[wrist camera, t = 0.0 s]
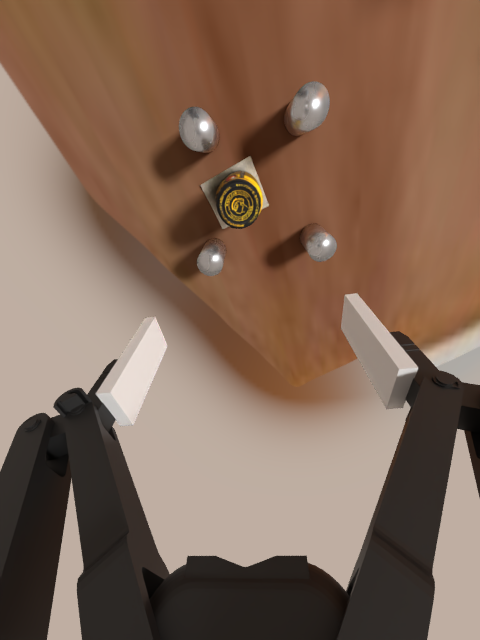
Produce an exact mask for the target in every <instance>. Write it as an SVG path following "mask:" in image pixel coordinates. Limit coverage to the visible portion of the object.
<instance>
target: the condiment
mask: <svg viewBox="0 0 480 640" xmlns="http://www.w3.org/2000/svg"><path fill="white" fill-rule="evenodd" d="M200 186H201V187H202V189H203V191H204V193H205V195H206V197H207V199H208V201H209V203H210V205H211V207H212V209H213V211H214V213H215V215H216V217H217V219H218V221H219V223H220V225H221V227H222V229H224V228H227V227H228V226H230V227H231V228H236V229H237V228H238V229H242V228H246V227H248V226H250V225H251V224H252V223H253V222H254V221H255V220H256V219H257V217H258V216H259V214H260V212H261V209H263V208H265V207H267V206H269V204H268V202H267V199H266V196H265V194H264V191H263V188H262V186H261V183H260V181H259V178H258V175H257V173H256V170H255V167H254V165H253V162H252V159H251V157H250V156H249V157H247V158H246V159H244V160H242V161H241V162H239V163H237V164H235V165H234V166H232V167H230V168H229V169H227V170H225V171H224V172H222V173H220V174H219V175H217V176H215V177H213V178H212V179H210V180H208V181H207V182H205V183H203V184H201V185H200Z"/></svg>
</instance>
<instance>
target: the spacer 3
mask: <svg viewBox="0 0 480 640" xmlns="http://www.w3.org/2000/svg"><path fill="white" fill-rule="evenodd" d="M329 104H330V99H329V94H328V91H327V89H326V88H325V86H324V85H323V84H321V83H319V82H309V83H307V84H305V85H304V86H303V87H301V89H300V90H299V91H298V92H297V94H296V95H295V97H294V98H293V99H292V101H291V102H290V103H289V105H288V106H287V108H286V111H285V115H284V123H285V127H286V129H287V131H288V132H289V133H290V134H292V135H294V136H300V135H303V134H305V133H307V132H309V131H311V130H313V129H315V128H317V127H318V126H319V125H320V124H321V123H322V122H323V121H324V119H325V118H326V116H327V113H328V110H329Z"/></svg>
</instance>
